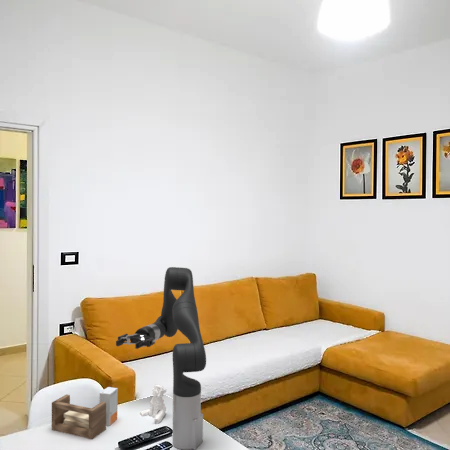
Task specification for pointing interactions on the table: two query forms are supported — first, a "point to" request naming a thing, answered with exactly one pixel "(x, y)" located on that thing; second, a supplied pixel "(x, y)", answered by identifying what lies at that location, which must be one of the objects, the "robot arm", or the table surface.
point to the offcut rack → (95, 414)
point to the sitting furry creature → (156, 405)
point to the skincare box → (110, 404)
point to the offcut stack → (76, 419)
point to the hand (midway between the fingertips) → (126, 345)
